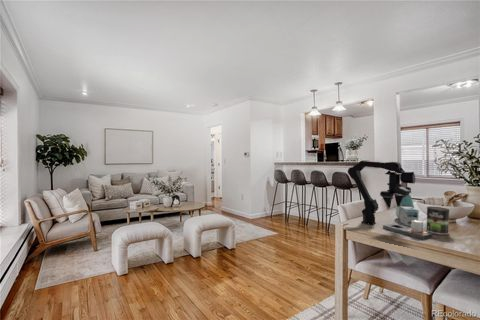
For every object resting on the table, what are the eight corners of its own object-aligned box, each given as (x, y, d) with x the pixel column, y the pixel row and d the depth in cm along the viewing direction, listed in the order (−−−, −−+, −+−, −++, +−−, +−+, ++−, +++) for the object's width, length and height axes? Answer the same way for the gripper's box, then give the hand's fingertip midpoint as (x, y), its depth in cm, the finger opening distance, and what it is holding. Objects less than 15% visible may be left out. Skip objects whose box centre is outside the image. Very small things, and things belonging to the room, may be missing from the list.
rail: (383, 228, 149) (383, 224, 149) (393, 226, 154) (393, 222, 154) (422, 239, 130) (422, 235, 129) (433, 237, 134) (433, 232, 134)
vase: (398, 216, 179) (398, 192, 179) (417, 219, 171) (417, 194, 170) (393, 219, 171) (393, 194, 171) (412, 222, 163) (413, 196, 162)
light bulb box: (418, 226, 153) (419, 209, 153) (406, 226, 155) (407, 209, 155) (410, 222, 164) (410, 206, 164) (399, 221, 165) (399, 206, 165)
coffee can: (446, 236, 136) (446, 211, 136) (423, 231, 144) (424, 207, 144) (450, 232, 142) (451, 208, 142) (429, 228, 150) (429, 205, 150)
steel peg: (411, 234, 138) (411, 220, 137) (415, 233, 139) (415, 220, 139) (418, 236, 134) (419, 222, 134) (422, 235, 136) (423, 221, 136)
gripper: (398, 184, 139) (397, 211, 139) (417, 182, 147) (416, 208, 147) (379, 182, 149) (379, 207, 149) (398, 181, 157) (397, 205, 157)
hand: (393, 207), depth 150 cm, fingers open, 9 cm apart
